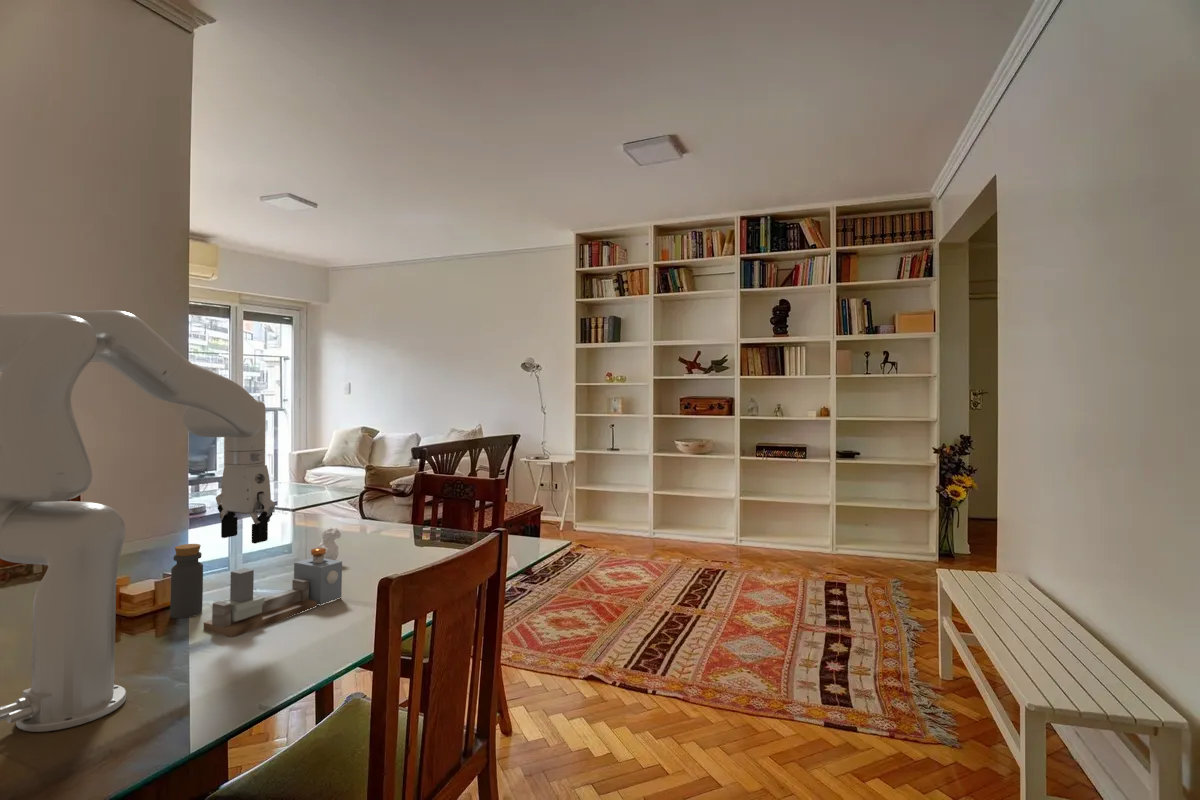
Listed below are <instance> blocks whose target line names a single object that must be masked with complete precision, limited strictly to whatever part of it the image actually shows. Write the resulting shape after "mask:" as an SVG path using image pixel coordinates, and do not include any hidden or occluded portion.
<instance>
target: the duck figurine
mask: <svg viewBox="0 0 1200 800" xmlns="http://www.w3.org/2000/svg"><path fill="white" fill-rule="evenodd" d="M341 536H342V533H341V532H340V530H339V528H337V527H335V528H333V527H331V526H330V527H329V528H327V530H324V531H323V532H322V535H321V538H322V541H321V542H320V543H319V544H318V545H317V547H316V548H326V553H325V554H324V558H325V559H331V560H337V559H338V557H339V546H338V544H336V541H335V540H337V539H338V540H339V539H340V538H341Z"/></svg>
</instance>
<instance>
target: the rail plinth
mask: <svg viewBox="0 0 1200 800" xmlns="http://www.w3.org/2000/svg"><path fill="white" fill-rule="evenodd" d="M291 583H292V584H291V585H292V588H291V589H289V590H286V591H282V592H278V593H276V594H272V595H269V596H266V597H264V603H263V604H262V613H259V614H256V615H253V616H250V617H247V618H244V619H241V620H238V621H232V610H231V604H230V603H226V602H222V601H221V600H219V601H215V602H212V611H211V612H212V614H211V620H207V621H204V622H203V630H204V631H206V632H209V633H210V632H211V633H215V634H218V635H222V636H225V637H228V638H235V637H238V636H240V635H243V634H245V633H249V632H252V631H254V630H257V629H260V628H263V627H266V626H268V625H272V624H274V623H277V622H279V621H283V620H285V618H286V619H288V618H287V617H289V618H291V617H293V616H292V615H294V614H297V613H300V612H302V611H305V610H307V609H310V608H313V607H315V606H317V601H314V600H310V599H309V580H305V579H300V578H297V579H294V578H293V579H292V582H291ZM300 614H301V613H300ZM297 615H298V614H297ZM290 616H291V617H290ZM294 616H295V615H294Z"/></svg>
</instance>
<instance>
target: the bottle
mask: <svg viewBox="0 0 1200 800" xmlns="http://www.w3.org/2000/svg"><path fill="white" fill-rule="evenodd" d="M174 549H175V550H174V551H175V554H174V555H173V561H175V562H176V564H174V565H173V566H172V567H171V569H170V570H171V571H170V572H171V573H170V575H171V576H170V605H169V606H170V611H169V612H170V618H172V619H186V618H192V617H195V616H198V615H200V614H201V613H202V612H203V595H204V594H203V593H204V591H203V590H204V564H203V563H202V562H200V561H199V559H201V558H202V552H201V551H200V549H201V544H199V543H187V544H180V545H177V546H175V547H174Z"/></svg>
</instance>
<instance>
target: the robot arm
mask: <svg viewBox="0 0 1200 800" xmlns="http://www.w3.org/2000/svg"><path fill="white" fill-rule="evenodd" d="M90 363H103V364H105V365H108V367H110V368H112V369H113V370H115V371H116V372H117V373H119V374H120V375H121V376H122V377H124V378H125V379H127V380H128V381H130V382H131V383H132V384H134V386H136V387H138V388H139V389H140V390H141V391H143V392H144V393H145V394H146V395H149V397H152V398H156V399H158V400H161V401H164V402H169V403H173V404H176V405H182V406H186V408H185V409H184V411H183V413H182V417H181V419H182V421H181V422H182V425H183V426H184V428H185V429H186V431H188V432H189V433H190V434H192V435H194V436H196V437H197V436H198V437H201V438H203V437H204V438H223V472H222V477H221V478H222V479H221V490H220V491H221V492H220V493H219V494H218V495H217V496H216V497H215V501H216V504H217V510H218V512H219V519H221V523H220V524H221V526H220V528H221V529H220V530H221V531H220V532H221V533H220V537H221V538H222V539H227V538H231V537H235V536H237V535H238V516H237V514H244V515H250V517H251V519H252V521H253V523H252V524H251V543H252V544H258V543H263V542H267V541H268V539H269V536H268V535H269V532H268V531H269V528H268V527H269V525H268V524H269V523H270V521H271V517H272V516H273V511H274V509H275V504H276V503H275V502H274V501H273V500H272V497H271V493H272V492H271V483H270V482H271V480H270V476H269V475H270V474H269V468H268V466H267V464H266V421H267V420H266V418H267V416H266V411H267V409H266V404H265V403H264V402H263V401H261V400H256V398H255V397H254V396H252V394H250V392H248V390H246V389H245V388H244V387H243V386H241V385H240V384H238V383H237V382H235V381H233V380H231V379H229V378H227V377H225V376H223V375H220V374H218V373H216V372H214V371H212V370H210V369H208V368H205V367H203V366H201V365H199V364H197V363H193V362H191V361H190V360H188V359H186V357H184V356H183V355H182V354H181V353H180V352H179V351H178V350H176V349H175V348H174V347H173V346H172V345H171V344H170V343H169V342H167V341H166V340H165V339H164V338H163V337H162V336H160V335H159V334H158V333H157V332H156V331H155V329H153V328H151V326H149V325H148V324H147V323H146V322H145V321H143V319H141V318H139V316H137V315H135V314H134V313H130V312H127V311H124V310H116V309H113V310H112V309H109V310H108V309H102V310H101V309H100V310H94V309H93V310H88V309H87V310H85V309H83V310H82V309H80V310H62V311H46V312H19V313H18V312H13V313H11V312H9V313H8V312H7V313H0V373H1V374H0V559H1V560H3V561H6V562H10V563H17V564H28V565H42V566H47V570H46V572H45V574H44V576H43V577H42V579H41V581H40V582H39V584H38V585H37V587H36V590H35V593H34V597H33V602H32V603H33V604H32V642H31V643H32V644H31V651H32V652H31V659H32V660H31V687H30V688H27V689H24V690H23V689H22V696H21V697H19V698H16V699H15V700H14V702H12V703H9V704H5V705H1V706H0V722H2V721H4V720H6V722H7V723H8V724H12V723H14V722H15V723H16V727H17V728H18V729H20V730H21V731H24V732H32V733H33V732H34V733H35V732H37V733H41V732H42V733H43V732H51V731H58V730H64V729H70V728H74V727H78V726H80V725H83V724H87V723H89V722H93V721H95V720H97V719H100V718H102V717H104V716H106V715H108V714H111V713H112V712H114V711H115V710H117V709H118V708H120V707H121V706H122V705H123V704H124V703H125V701H126V699H127V689H126V688H125V687H124V686H121V685H118V684H115V659H116V649H115V648H116V615H117V611H116V608H117V604H116V603H117V602H116V600H117V597H116V596H117V580H118V579H117V578H118V576H117V575H118V570H119V569H118V568H119V563H120V558H121V554H122V549H123V546H124V542H125V539H126V531H127V529H126V522H125V520H124V518H123V516H122V515H121V513H120V512H118V510H117V509H115V508H113V507H112V506H109V505H105V504H102V503H98V502H92V501H77V500H76V501H74V500H73V501H71V500H72V499H75V498H78V497H79V496H81V495H82V494H84V493H85V492H87V490H88V489H89V487H90V486H91V484H92V481H93V467H92V463H91V460H90V457H89V454H88V452H87V451H88V450H87V448H86V446H85V442H84V440H83V438H82V435H81V431H80V428H79V426H78V423H77V421H76V417H75V415H74V411H73V405H72V395H73V394H72V393H73V392H74V391H73V390H74V387H75V384H76V382H77V380H78V379H79V377H80V376H81V374H82V373H83V371H84V370H85V369H86V367H87V366H88V365H89V364H90ZM258 514H259V516H258Z"/></svg>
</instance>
